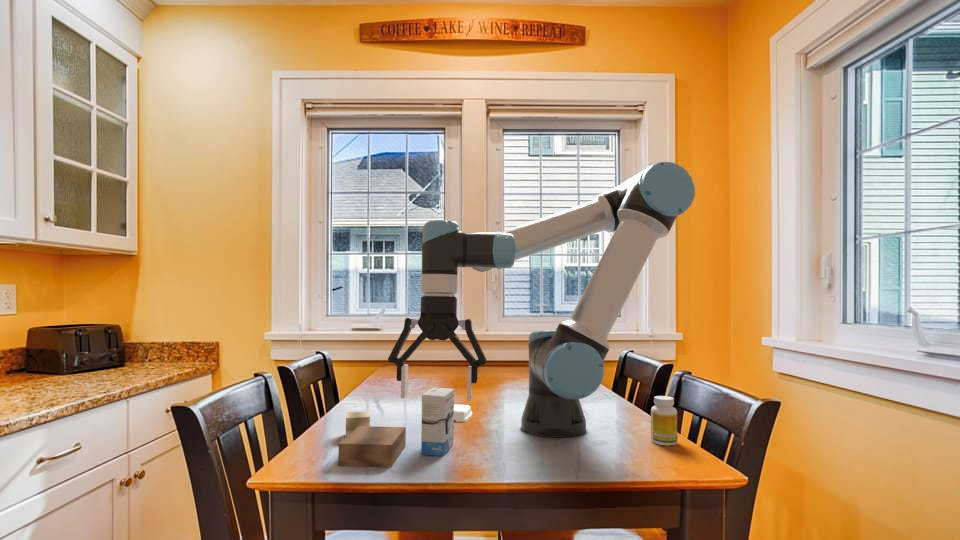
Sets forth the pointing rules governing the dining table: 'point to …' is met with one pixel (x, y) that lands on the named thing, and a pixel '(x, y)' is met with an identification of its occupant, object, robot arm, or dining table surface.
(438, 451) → the ink box
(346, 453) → the walnut block
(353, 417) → the maple cube
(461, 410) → the soap
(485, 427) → the dining table surface
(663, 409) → the supplement bottle
